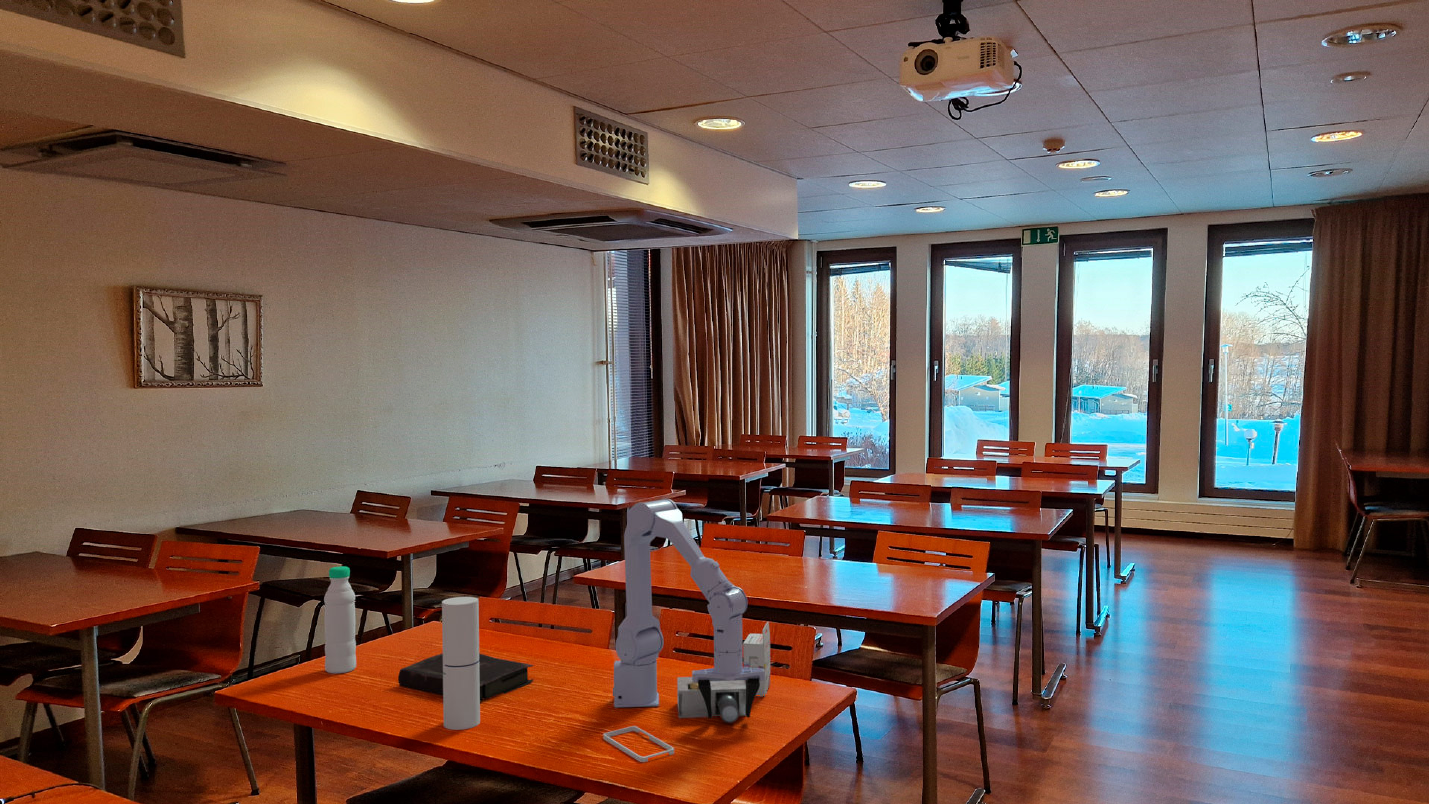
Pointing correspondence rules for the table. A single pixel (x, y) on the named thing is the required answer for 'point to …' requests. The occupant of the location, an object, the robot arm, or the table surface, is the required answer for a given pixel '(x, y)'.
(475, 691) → the cylindrical container
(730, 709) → the cartridge
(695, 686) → the plunger
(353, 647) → the water bottle
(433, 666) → the diary
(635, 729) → the phone case
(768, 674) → the ink cartridge box
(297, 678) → the table surface
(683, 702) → the housing
